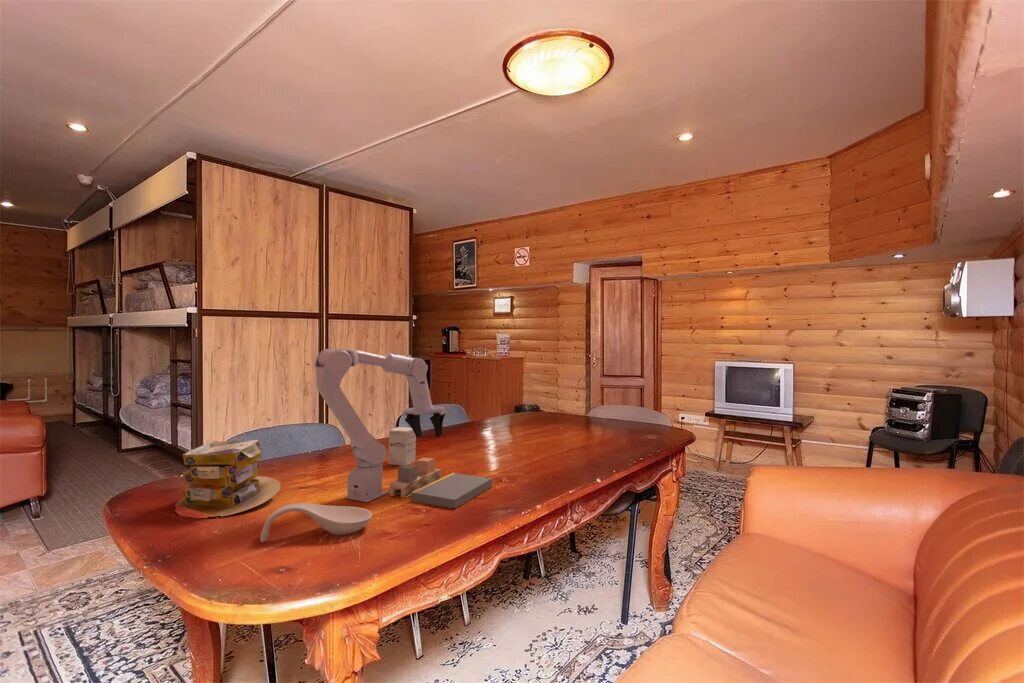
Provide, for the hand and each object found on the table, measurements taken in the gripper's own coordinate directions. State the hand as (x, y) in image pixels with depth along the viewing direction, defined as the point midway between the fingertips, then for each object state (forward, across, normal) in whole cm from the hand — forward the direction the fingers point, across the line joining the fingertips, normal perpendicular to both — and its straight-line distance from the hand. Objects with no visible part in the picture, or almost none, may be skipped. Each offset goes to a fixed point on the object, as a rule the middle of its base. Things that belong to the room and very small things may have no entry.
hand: (429, 436), depth 151 cm
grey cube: (+8, +1, +13) cm, 16 cm away
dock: (+14, -12, +10) cm, 20 cm away
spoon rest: (+4, +1, +47) cm, 47 cm away
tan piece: (+13, +2, +10) cm, 16 cm away
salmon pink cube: (+10, +1, +4) cm, 11 cm away
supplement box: (+16, +24, -12) cm, 31 cm away
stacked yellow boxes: (+2, +39, +41) cm, 57 cm away
